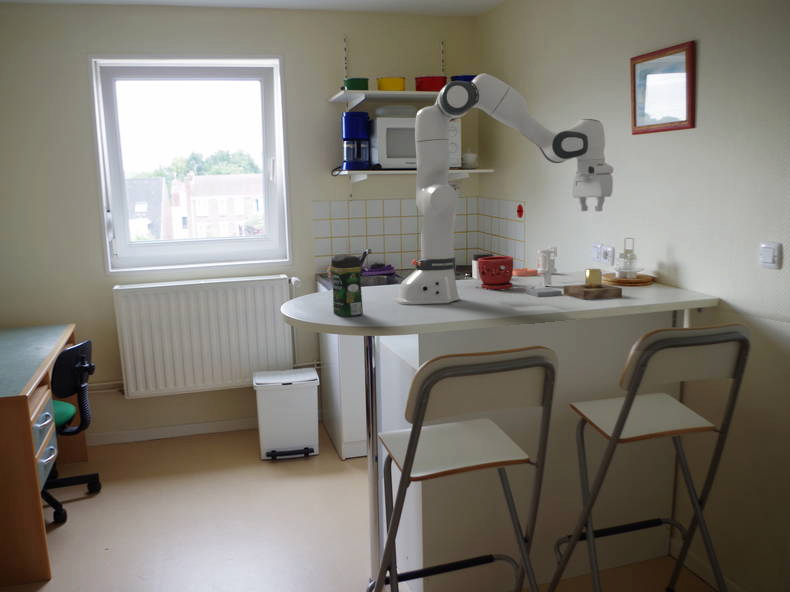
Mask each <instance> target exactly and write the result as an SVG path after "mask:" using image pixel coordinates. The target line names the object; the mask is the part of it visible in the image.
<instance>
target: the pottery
mask: <svg viewBox="0 0 790 592" xmlns="http://www.w3.org/2000/svg"><path fill="white" fill-rule="evenodd" d="M542 256H544V254H541V257H542ZM538 262H539V263H537V267H538V269H540V257H539V258H538ZM538 269H533V268H530V267H529V268H527V267H526V268H525V267H523V268H522V267H521V268H513V274H512V276H514V277H534V276H533V275H542V276H543V273H538ZM507 272H508V271H507Z"/></svg>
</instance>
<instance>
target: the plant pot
mask: <svg viewBox="0 0 790 592" xmlns="http://www.w3.org/2000/svg"><path fill="white" fill-rule="evenodd" d="M484 267H485V268H484ZM501 267H504V268H503V269H502V268H501ZM478 269H479V275H480V278H481V279H480V280H481V282H482V284H480V285H481V288H482V287H483V288H482V289H484V288H486V289H485V290H488V289H506V290H509V289H511V288H512V287H513V283H512V282H511V280H512V276H513V275H512V274H513V269H514V257H513V256H506V255H504V256H503V255H499V256H498V255H497V256H494V257H485V258H480V259H478ZM507 271H508V272H507ZM508 288H509V289H508Z"/></svg>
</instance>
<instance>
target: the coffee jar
mask: <svg viewBox="0 0 790 592" xmlns="http://www.w3.org/2000/svg"><path fill="white" fill-rule="evenodd" d="M330 266H331V276H332V297H333V298H332V299H333V300H332V303H333V305H332V306H333V310H332V311H333V313H334V315H336V316H338V317H341V318H354V316H356V317H358V316H362V315H363V314H364V313H363V312H364V311H363V309H364V307H363V295H362V283H361V282H362V281H361V280H362V279H361V278H362V277H361V275H362V274H361V273H362V272H361V271H362V263H361V258H360V257H358V256H354V255H350V254H338V255H337V254H336V255H334V256H333V257H332V258H331V265H330Z"/></svg>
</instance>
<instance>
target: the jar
mask: <svg viewBox="0 0 790 592" xmlns="http://www.w3.org/2000/svg"><path fill="white" fill-rule="evenodd" d="M485 257H495V256H494V253H491V252H480V253H478V252H477V253H473V255H472V258H473V259H472V261H471V262H472V263H471V266H472V268H471V269H472V270H471V271H472V279H474V280H481V278H480V275H479V269H478V259H480V258H485ZM484 268H485V267H484Z"/></svg>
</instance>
